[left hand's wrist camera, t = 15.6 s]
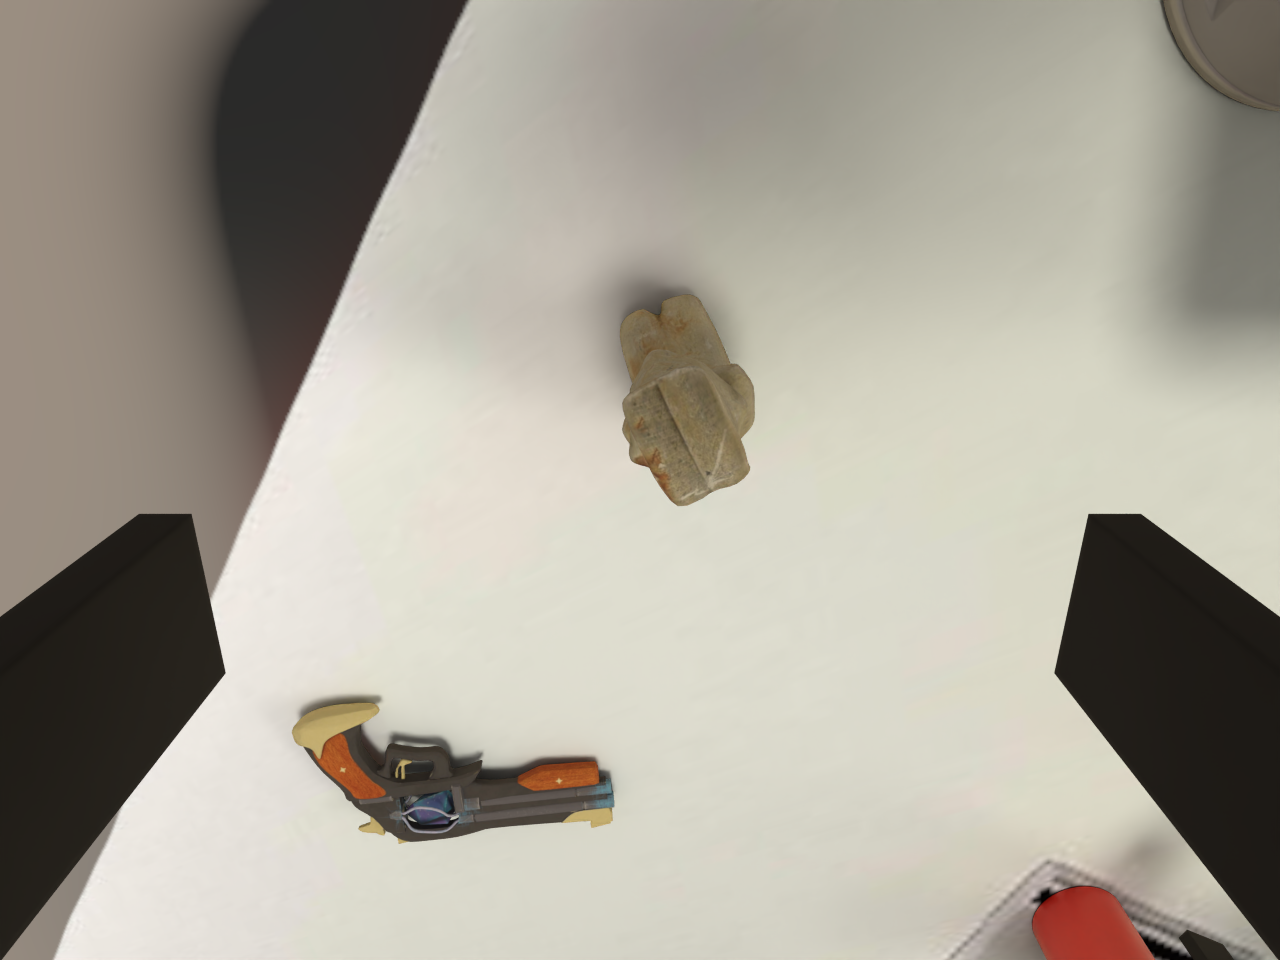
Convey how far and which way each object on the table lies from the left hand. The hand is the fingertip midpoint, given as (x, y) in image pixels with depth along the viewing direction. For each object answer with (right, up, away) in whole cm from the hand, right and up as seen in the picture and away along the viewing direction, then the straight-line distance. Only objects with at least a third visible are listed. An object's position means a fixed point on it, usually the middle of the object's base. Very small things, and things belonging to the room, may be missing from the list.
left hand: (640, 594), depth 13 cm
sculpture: (+2, +8, +32) cm, 33 cm away
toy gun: (-11, -16, +41) cm, 46 cm away
